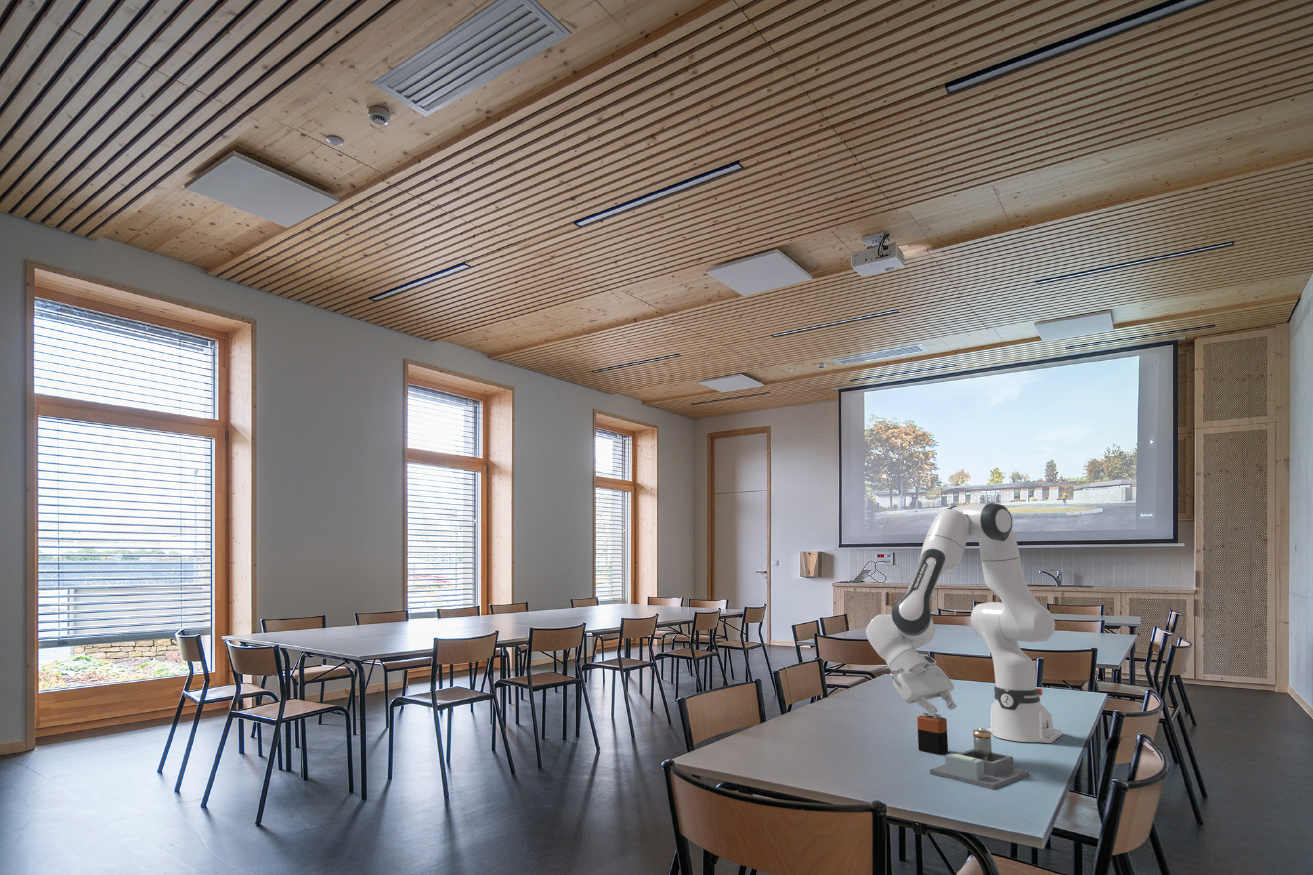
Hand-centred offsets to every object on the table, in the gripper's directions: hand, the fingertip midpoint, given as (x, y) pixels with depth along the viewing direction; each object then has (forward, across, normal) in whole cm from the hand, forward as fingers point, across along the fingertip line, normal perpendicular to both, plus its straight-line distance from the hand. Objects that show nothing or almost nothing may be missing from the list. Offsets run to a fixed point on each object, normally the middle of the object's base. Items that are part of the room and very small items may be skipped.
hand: (944, 710), depth 198 cm
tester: (+16, -2, +2) cm, 17 cm away
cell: (+15, 0, +1) cm, 16 cm away
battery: (+3, +8, +16) cm, 18 cm away
